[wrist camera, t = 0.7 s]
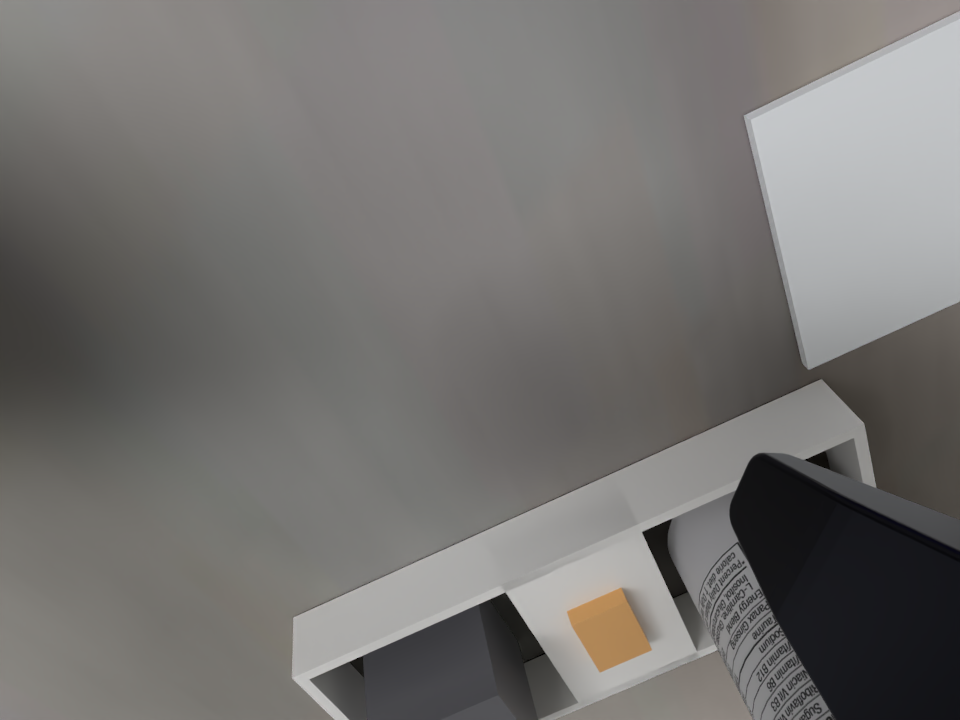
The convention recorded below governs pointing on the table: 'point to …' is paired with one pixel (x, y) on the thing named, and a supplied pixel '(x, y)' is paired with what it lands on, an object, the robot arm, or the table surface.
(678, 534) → the energy drink can
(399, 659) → the black block
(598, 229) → the table surface
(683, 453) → the dock strip
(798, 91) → the white square pad
